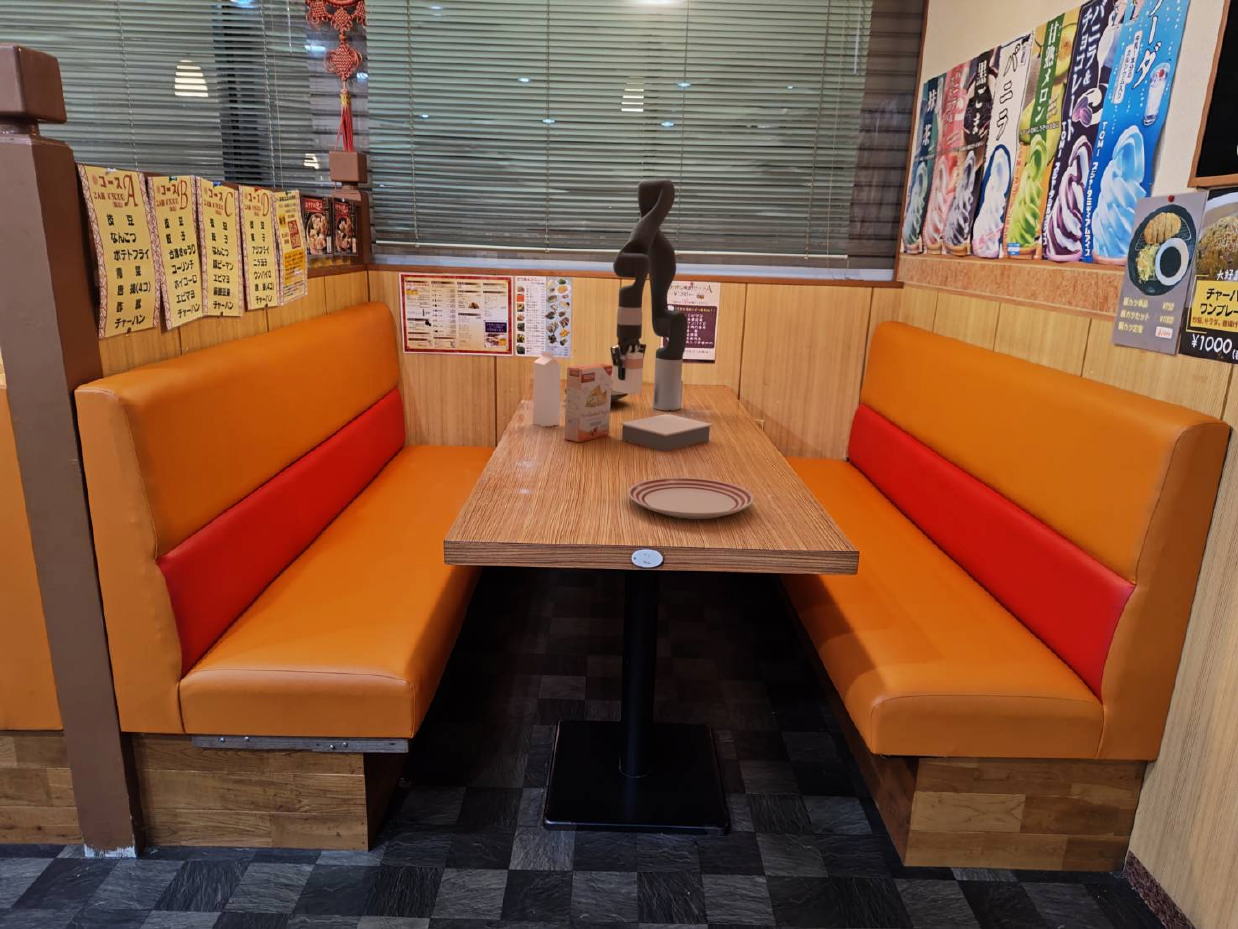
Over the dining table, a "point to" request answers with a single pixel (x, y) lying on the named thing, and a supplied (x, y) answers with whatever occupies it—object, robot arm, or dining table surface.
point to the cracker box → (588, 401)
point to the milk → (546, 390)
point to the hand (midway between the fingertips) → (627, 378)
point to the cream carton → (630, 375)
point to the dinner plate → (690, 497)
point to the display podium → (665, 432)
